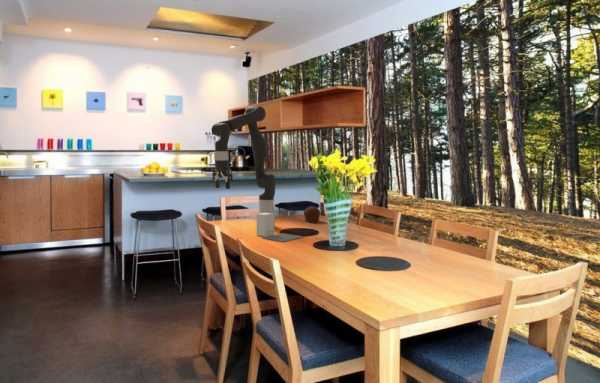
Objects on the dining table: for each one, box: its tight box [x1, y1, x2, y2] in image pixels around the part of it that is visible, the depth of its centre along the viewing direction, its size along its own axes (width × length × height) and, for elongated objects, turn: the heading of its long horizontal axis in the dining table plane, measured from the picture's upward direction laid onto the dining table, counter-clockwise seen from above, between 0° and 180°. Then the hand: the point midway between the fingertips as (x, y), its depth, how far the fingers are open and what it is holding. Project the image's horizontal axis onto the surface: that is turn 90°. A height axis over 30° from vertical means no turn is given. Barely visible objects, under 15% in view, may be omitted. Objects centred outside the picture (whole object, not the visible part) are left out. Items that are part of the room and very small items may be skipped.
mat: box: [262, 232, 304, 243], centre depth 269 cm, size 17×15×1 cm
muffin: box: [303, 206, 321, 224], centre depth 326 cm, size 12×11×10 cm
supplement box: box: [256, 212, 275, 238], centre depth 275 cm, size 7×7×13 cm
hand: (222, 188), depth 271 cm, fingers open, 8 cm apart
